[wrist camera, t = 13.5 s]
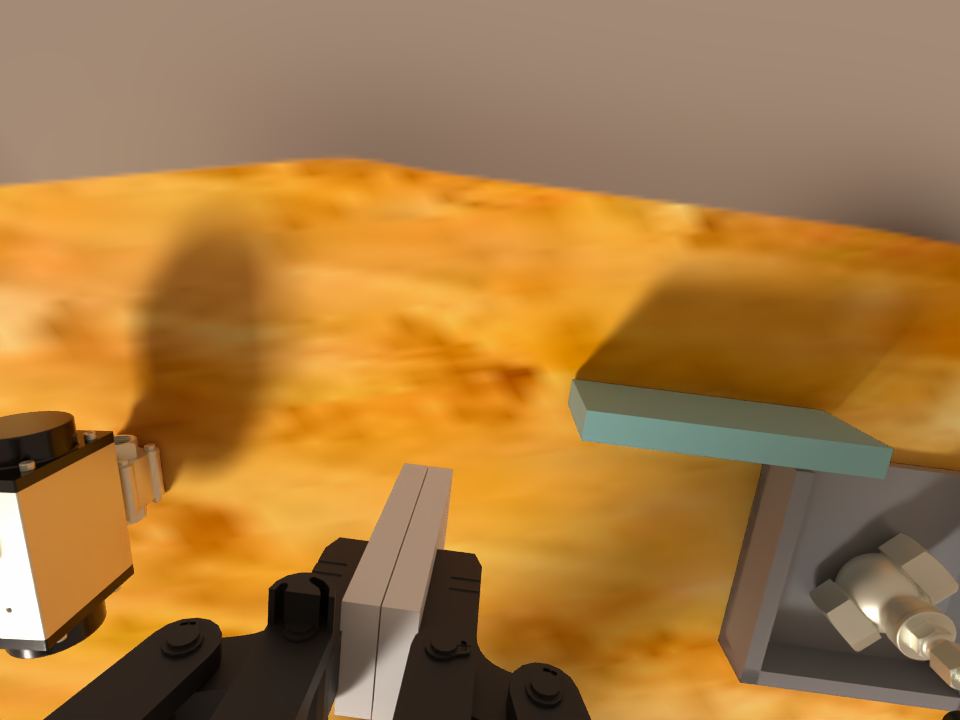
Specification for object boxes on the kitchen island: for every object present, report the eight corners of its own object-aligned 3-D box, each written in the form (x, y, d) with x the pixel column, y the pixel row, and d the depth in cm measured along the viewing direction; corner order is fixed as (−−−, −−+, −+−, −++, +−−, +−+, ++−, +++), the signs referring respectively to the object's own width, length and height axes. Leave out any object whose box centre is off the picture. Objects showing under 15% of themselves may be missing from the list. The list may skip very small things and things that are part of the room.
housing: (973, 675, 36) (1065, 760, 30) (717, 640, 36) (758, 718, 30) (1067, 433, 32) (1193, 477, 26) (780, 397, 32) (840, 432, 26)
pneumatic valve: (163, 383, 34) (-17, 460, 22) (184, 549, 37) (32, 695, 25) (79, 381, 34) (-143, 456, 23) (105, 546, 37) (-81, 689, 25)
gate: (816, 435, 32) (884, 479, 26) (568, 404, 33) (581, 440, 27) (823, 410, 32) (893, 449, 26) (572, 378, 32) (586, 410, 26)
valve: (933, 576, 33) (1162, 758, 22) (841, 634, 35) (1011, 836, 23) (874, 502, 33) (1079, 650, 21) (781, 564, 34) (926, 736, 22)
